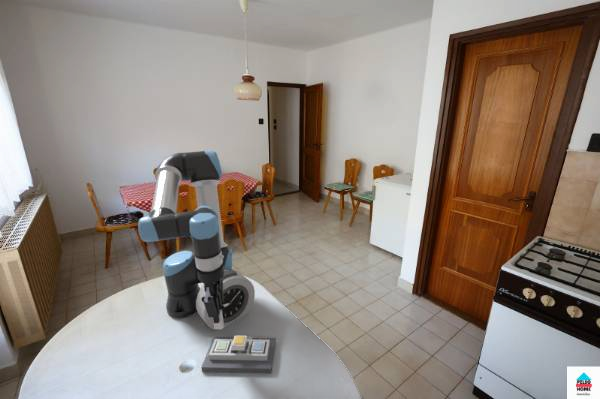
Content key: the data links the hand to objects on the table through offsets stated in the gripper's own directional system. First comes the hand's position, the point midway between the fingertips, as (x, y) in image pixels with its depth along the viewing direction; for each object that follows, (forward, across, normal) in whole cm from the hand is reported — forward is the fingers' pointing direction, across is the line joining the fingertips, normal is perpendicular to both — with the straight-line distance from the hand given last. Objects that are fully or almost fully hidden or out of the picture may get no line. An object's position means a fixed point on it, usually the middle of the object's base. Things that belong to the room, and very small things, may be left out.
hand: (219, 327), depth 90 cm
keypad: (+12, -1, -6) cm, 13 cm away
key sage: (+9, -1, 0) cm, 9 cm away
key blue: (+9, -1, -12) cm, 15 cm away
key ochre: (+7, -1, -6) cm, 9 cm away
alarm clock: (+12, +18, +3) cm, 22 cm away
